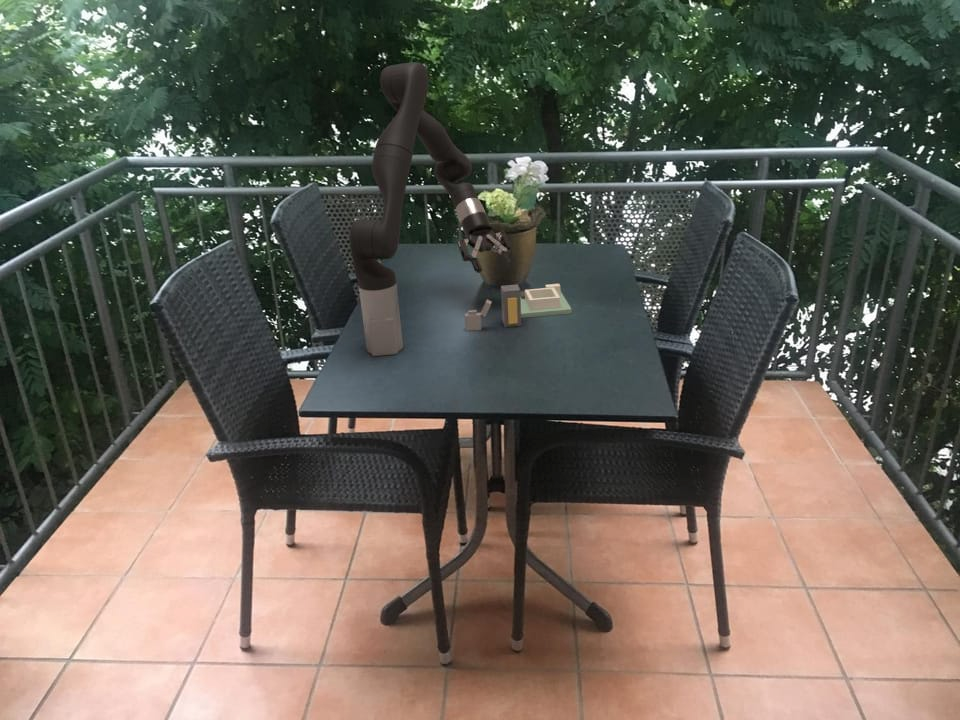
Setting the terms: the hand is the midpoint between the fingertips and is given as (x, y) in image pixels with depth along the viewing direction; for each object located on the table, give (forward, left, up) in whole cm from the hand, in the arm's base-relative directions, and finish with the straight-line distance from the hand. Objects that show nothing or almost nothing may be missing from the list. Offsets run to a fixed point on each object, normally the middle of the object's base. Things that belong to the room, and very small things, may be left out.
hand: (494, 268), depth 209 cm
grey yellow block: (-8, -3, -13) cm, 16 cm away
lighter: (-10, +6, -13) cm, 18 cm away
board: (+3, -13, -13) cm, 19 cm away
